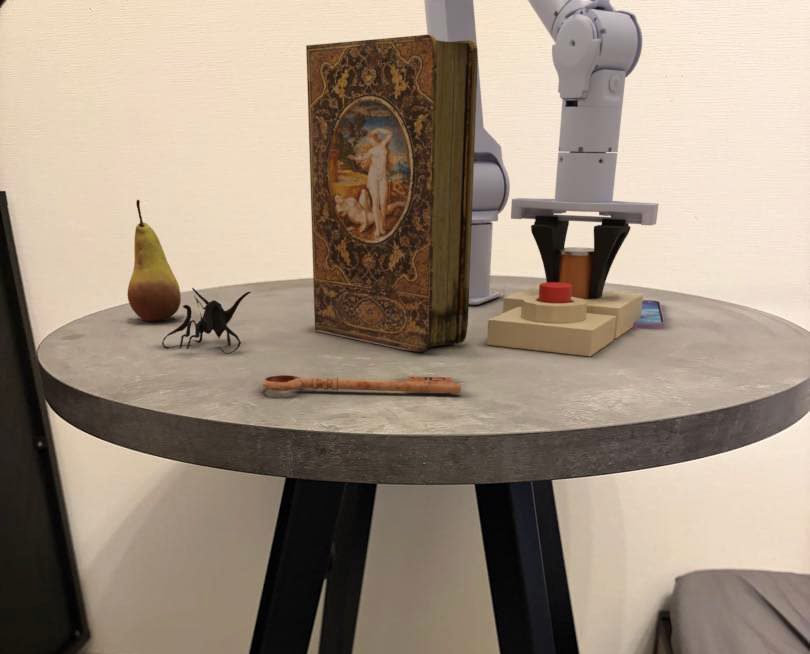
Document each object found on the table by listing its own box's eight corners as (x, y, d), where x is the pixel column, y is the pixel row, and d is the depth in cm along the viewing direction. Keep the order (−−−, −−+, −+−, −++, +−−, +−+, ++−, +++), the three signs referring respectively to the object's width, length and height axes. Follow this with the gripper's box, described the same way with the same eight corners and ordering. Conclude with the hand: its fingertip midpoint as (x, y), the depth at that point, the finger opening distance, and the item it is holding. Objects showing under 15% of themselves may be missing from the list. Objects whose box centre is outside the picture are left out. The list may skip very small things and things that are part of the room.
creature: (227, 370, 76) (266, 334, 82) (215, 312, 73) (257, 278, 79) (150, 363, 78) (194, 328, 84) (135, 306, 75) (182, 273, 81)
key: (459, 385, 69) (272, 379, 70) (460, 374, 69) (272, 368, 69) (460, 399, 64) (257, 392, 64) (461, 386, 63) (257, 380, 64)
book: (306, 329, 88) (296, 46, 77) (346, 322, 91) (341, 51, 81) (428, 355, 78) (435, 33, 67) (466, 346, 81) (479, 39, 71)
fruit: (196, 319, 92) (185, 197, 87) (152, 327, 88) (138, 200, 83) (161, 313, 95) (149, 195, 90) (117, 320, 91) (102, 197, 86)
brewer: (501, 327, 90) (503, 297, 89) (534, 312, 98) (536, 284, 97) (616, 339, 85) (619, 307, 84) (640, 322, 93) (643, 293, 92)
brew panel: (486, 344, 82) (489, 301, 80) (516, 330, 88) (519, 290, 87) (590, 356, 78) (594, 311, 76) (613, 340, 84) (618, 298, 83)
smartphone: (593, 321, 91) (596, 299, 105) (592, 330, 92) (596, 306, 105) (665, 323, 90) (660, 300, 103) (664, 332, 90) (659, 308, 103)
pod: (550, 311, 90) (554, 250, 87) (557, 305, 93) (561, 246, 91) (591, 313, 88) (596, 252, 86) (596, 307, 92) (602, 248, 90)
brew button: (533, 304, 81) (535, 285, 80) (544, 300, 83) (545, 281, 83) (564, 307, 80) (566, 287, 79) (574, 302, 82) (576, 283, 81)
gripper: (671, 153, 85) (653, 295, 91) (531, 151, 91) (522, 285, 97) (655, 154, 79) (637, 305, 85) (506, 151, 85) (499, 293, 91)
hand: (574, 295), depth 90 cm, fingers closed on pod, 4 cm apart
